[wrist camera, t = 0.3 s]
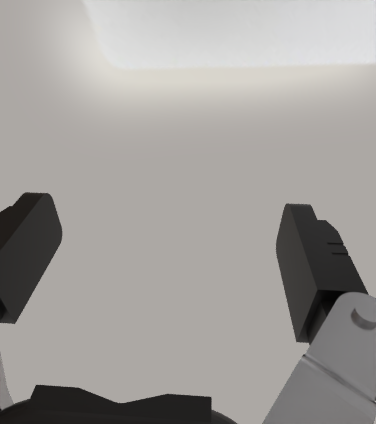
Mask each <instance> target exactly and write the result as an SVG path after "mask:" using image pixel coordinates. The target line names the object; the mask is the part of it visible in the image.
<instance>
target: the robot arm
mask: <svg viewBox="0 0 376 424" xmlns="http://www.w3.org/2000/svg"><path fill="white" fill-rule="evenodd" d="M61 240H62V227H61V224H60V221H59V218H58V215H57V211H56V208H55V205H54V202H53V199H52V197H51V195H50V194H48V193H28V192H27V193H24V194H23V195H22V196H21V197H20V198H19V199H18V201H16V203H15V204H14V205H13V206H9V207H8V208H6V209H4V210H3V211H1V212H0V323H12V324H15V323H16V321H17V319H18V318H19V316H20V314H21V312H22V311H23V309H24V307H25V305H26V304H27V302H28V300H29V298H30V297H31V295H32V293H33V291H34V289H35V288H36V286H37V284H38V282H39V281H40V279H41V277H42V275H43V274H44V272H45V270H46V268H47V266H48V265H49V263H50V261H51V259H52V258H53V256H54V254H55V252H56V250H57V249H58V247H59V245H60V243H61ZM276 254H277V259H278V263H279V267H280V271H281V276H282V281H283V285H284V290H285V294H286V298H287V302H288V307H289V311H290V316H291V320H292V324H293V329H294V333H295V337H296V342H306V343H309V345H310V347H309V348H308V350H307V352H306V353H305V355H303V356H302V357H301V359H300V361H299V362H298V364H297V365H296V367H295V369H294V371H293V372H292V374H291V376H290V377H289V379H288V381H287V382H286V384H285V386H284V388H283V389H282V391H281V393H280V394H279V396H278V398H277V399H276V401H275V403H274V404H273V406H272V408H271V410H270V411H269V413H268V415H267V416H266V418H265V420H264V422H263V423H262V424H373V423H374V420H375V416H376V402H375V401H376V298H374V297H372V296H370V295H369V294H368V292H367V290H366V288H365V286H364V284H363V282H362V280H361V278H360V276H359V274H358V272H357V270H356V268H355V266H354V264H353V262H352V260H351V257H350V256H348V251H347V249H346V247H345V246H343V241H342V239H341V237H340V235H339V233H338V231H337V230H336V229H335V228H334V227H333V226H331V225H330V224H329V223H328V222H327V221H326V220H317V218H316V216H315V213H314V211H313V208H312V206H311V205H307V204H286V205H285V207H284V211H283V215H282V219H281V224H280V228H279V232H278V236H277V242H276ZM0 424H237V423H236V422H234V421H233V420H232V419H230V418H228V417H226V416H224V415H223V414H221V413H218V412H216V411H214V410H211V397H204V396H190V395H176V394H165V395H160V396H155V397H151V398H146V399H141V400H136V401H132V402H127V403H116V402H113V401H111V400H108V399H105V398H103V397H101V396H98V395H96V394H93V393H91V392H88V391H85V390H83V389H80V388H75V387H61V386H46V385H36V386H35V389H34V391H33V393H32V395H31V398H30V399H27V400H24V401H22V402H18V403H15V404H14V403H13V401H12V399H11V397H10V394H9V392H8V389H7V385H6V380H5V375H4V369H3V364H2V359H1V354H0Z"/></svg>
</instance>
